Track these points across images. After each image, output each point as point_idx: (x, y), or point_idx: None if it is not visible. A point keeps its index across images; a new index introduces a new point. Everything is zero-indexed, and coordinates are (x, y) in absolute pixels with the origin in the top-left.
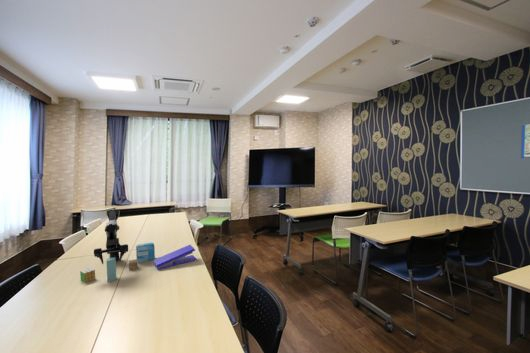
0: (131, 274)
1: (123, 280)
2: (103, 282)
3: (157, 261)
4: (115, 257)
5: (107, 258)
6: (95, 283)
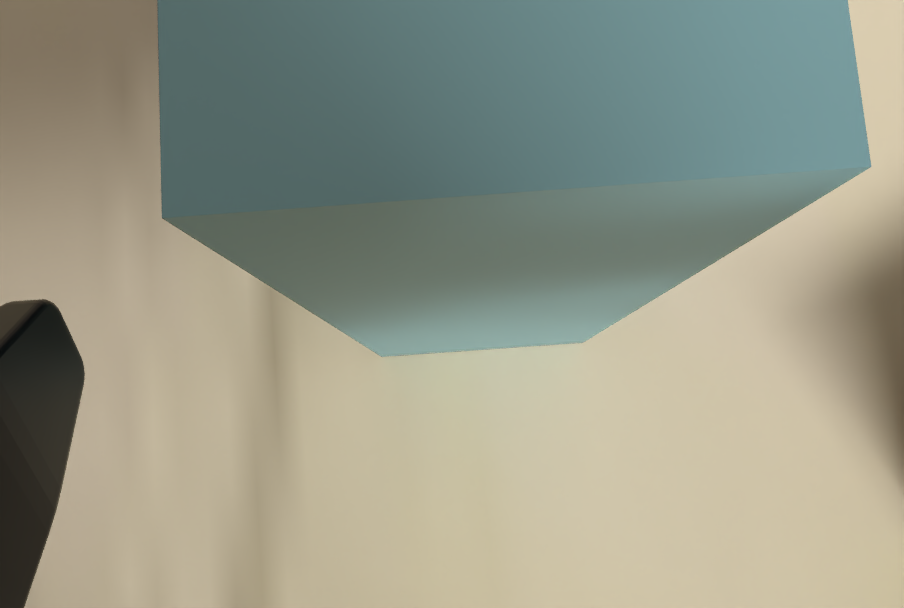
0: None
1: None
2: None
3: None
4: (168, 142)
5: (824, 122)
6: None
